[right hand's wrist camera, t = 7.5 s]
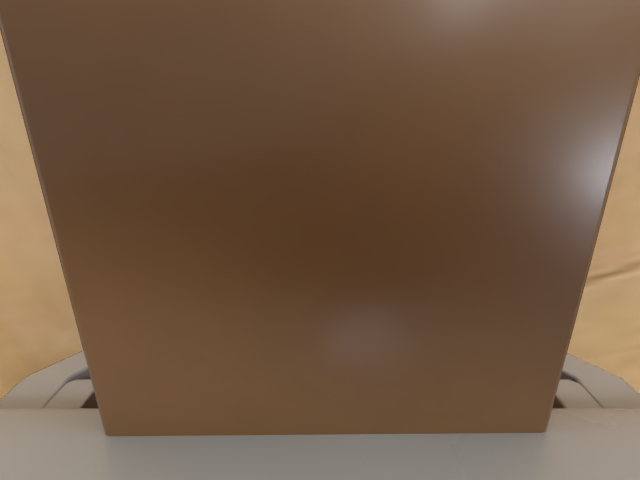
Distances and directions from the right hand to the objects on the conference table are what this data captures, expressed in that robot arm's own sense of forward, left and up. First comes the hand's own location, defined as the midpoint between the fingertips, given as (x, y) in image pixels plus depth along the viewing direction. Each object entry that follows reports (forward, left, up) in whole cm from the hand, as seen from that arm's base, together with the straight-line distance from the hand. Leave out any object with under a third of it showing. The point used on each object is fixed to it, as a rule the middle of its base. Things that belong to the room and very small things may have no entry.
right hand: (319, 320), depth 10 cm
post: (+16, -18, -3) cm, 24 cm away
